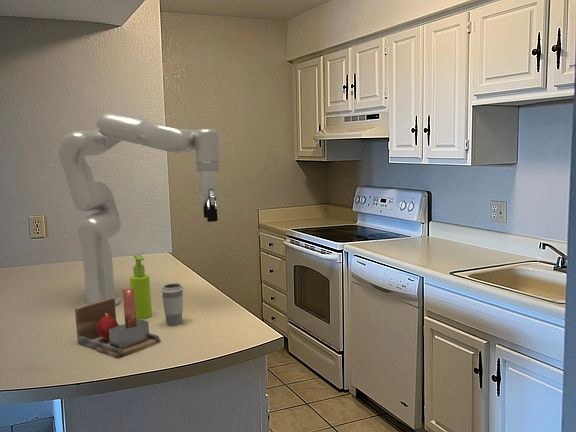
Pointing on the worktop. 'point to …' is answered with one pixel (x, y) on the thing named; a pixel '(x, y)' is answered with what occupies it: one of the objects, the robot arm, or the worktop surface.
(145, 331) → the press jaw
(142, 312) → the soap dispenser
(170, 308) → the cup
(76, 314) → the frame
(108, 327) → the onion
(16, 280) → the worktop surface
